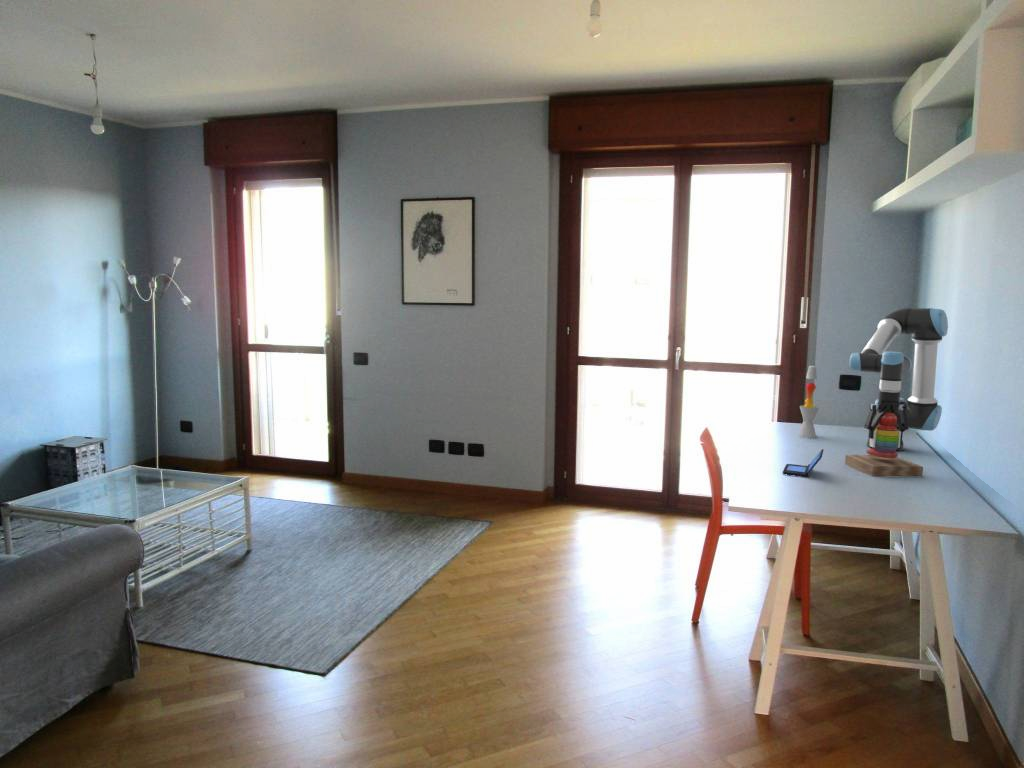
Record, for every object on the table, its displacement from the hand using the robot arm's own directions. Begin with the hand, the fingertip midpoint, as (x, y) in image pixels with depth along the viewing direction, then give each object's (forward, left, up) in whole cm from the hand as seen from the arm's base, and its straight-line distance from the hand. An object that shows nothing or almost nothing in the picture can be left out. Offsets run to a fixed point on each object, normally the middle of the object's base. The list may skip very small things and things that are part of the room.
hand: (884, 446), depth 282 cm
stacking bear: (0, 0, -4) cm, 4 cm away
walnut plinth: (0, 0, -10) cm, 10 cm away
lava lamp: (-2, -69, -10) cm, 70 cm away
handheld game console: (+35, +5, -10) cm, 37 cm away
